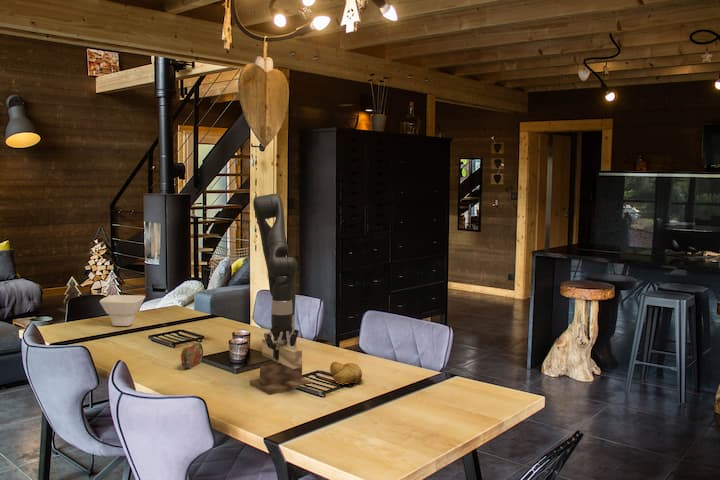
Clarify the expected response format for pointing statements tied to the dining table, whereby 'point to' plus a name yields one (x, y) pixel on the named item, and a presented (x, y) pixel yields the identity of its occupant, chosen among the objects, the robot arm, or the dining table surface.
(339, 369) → the bread roll
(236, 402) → the dining table surface
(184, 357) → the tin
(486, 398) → the dining table surface
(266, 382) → the stand
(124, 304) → the bowl
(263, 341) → the oak bar
